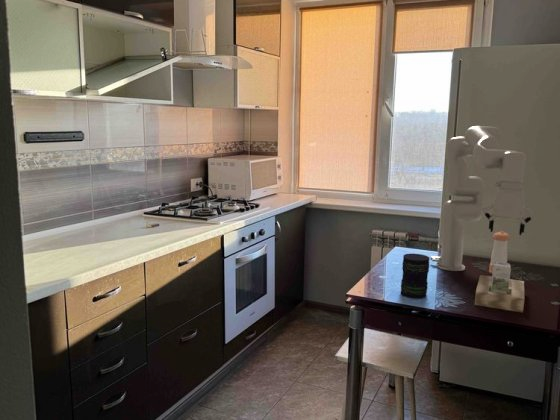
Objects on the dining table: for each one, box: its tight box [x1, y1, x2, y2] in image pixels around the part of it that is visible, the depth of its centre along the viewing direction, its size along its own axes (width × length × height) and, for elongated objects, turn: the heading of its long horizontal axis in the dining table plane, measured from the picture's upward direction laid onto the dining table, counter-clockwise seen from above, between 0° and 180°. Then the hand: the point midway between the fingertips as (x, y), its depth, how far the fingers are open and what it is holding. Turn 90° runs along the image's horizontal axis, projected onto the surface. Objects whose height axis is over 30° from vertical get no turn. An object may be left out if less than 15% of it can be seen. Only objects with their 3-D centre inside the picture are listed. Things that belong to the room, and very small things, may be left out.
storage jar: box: [400, 253, 431, 300], centre depth 192 cm, size 10×10×15 cm
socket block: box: [474, 274, 525, 314], centre depth 191 cm, size 16×24×5 cm, turn 155°
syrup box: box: [490, 262, 512, 294], centre depth 186 cm, size 6×6×14 cm
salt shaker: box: [488, 230, 511, 274], centre depth 226 cm, size 7×7×19 cm
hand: (505, 232), depth 184 cm, fingers open, 9 cm apart
